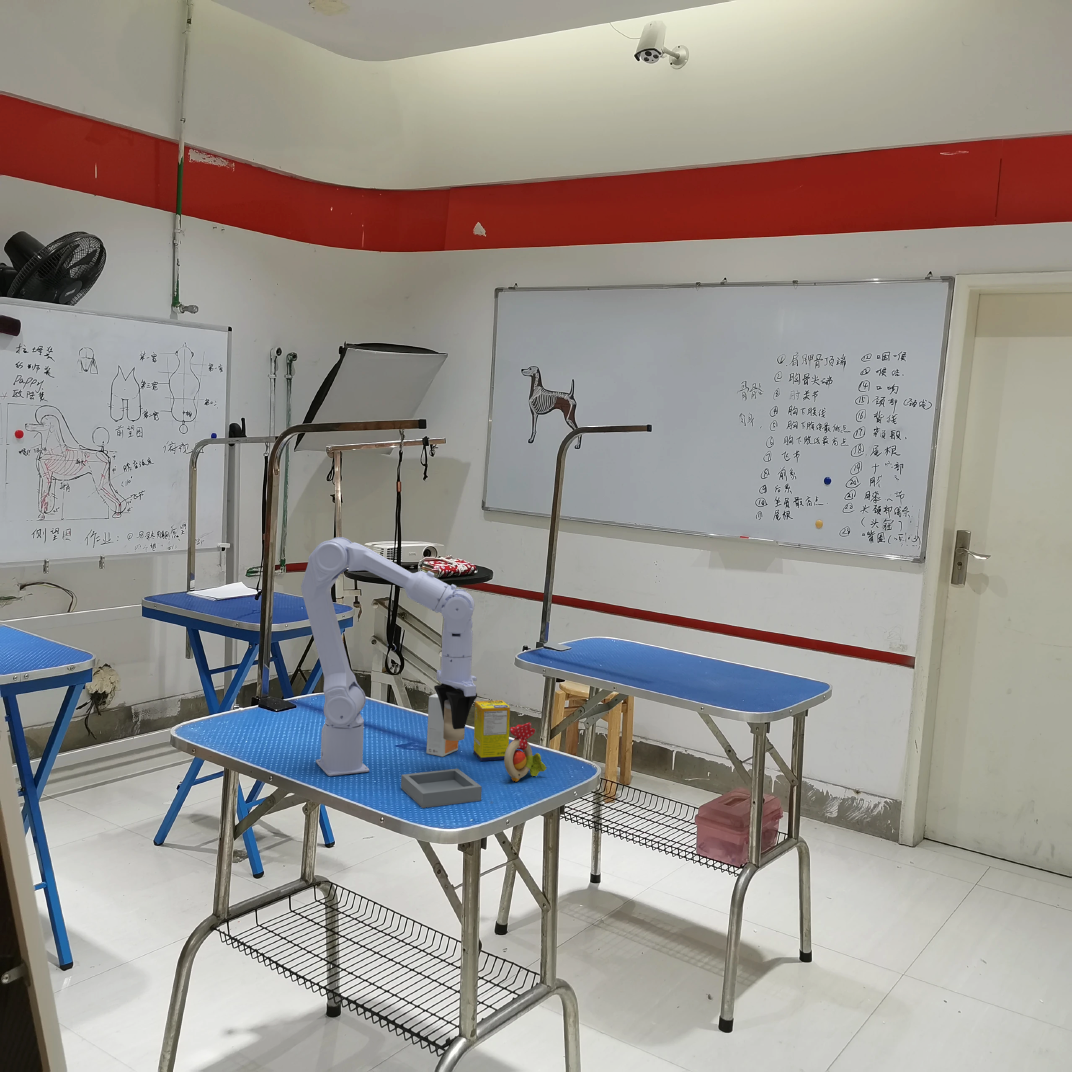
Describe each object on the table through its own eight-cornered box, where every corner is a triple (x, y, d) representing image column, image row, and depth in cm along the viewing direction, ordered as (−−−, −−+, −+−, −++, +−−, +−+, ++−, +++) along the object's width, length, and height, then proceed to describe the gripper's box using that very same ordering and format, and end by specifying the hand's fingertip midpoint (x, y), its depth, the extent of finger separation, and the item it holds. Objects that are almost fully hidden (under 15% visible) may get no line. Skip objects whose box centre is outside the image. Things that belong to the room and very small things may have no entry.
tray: (401, 788, 182) (401, 774, 181) (457, 781, 187) (457, 768, 186) (422, 808, 172) (422, 793, 172) (481, 800, 177) (481, 786, 177)
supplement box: (500, 751, 207) (502, 699, 206) (508, 760, 202) (510, 706, 201) (472, 753, 205) (474, 700, 205) (480, 761, 200) (482, 707, 199)
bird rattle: (529, 795, 187) (553, 766, 194) (517, 747, 182) (542, 718, 189) (501, 789, 190) (526, 760, 197) (489, 741, 186) (515, 713, 192)
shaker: (440, 736, 192) (441, 700, 191) (459, 734, 193) (460, 698, 193) (448, 741, 188) (449, 704, 188) (467, 739, 190) (468, 703, 189)
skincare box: (443, 757, 201) (445, 698, 201) (425, 753, 203) (427, 695, 202) (459, 750, 207) (461, 693, 206) (441, 746, 209) (443, 690, 208)
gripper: (492, 661, 185) (489, 733, 186) (461, 646, 198) (458, 714, 199) (456, 663, 182) (454, 736, 183) (427, 648, 195) (425, 717, 196)
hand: (454, 725), depth 191 cm, fingers closed on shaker, 4 cm apart
